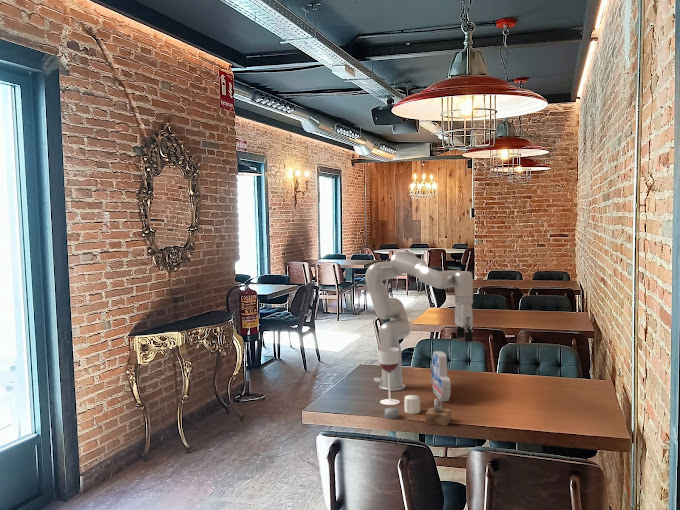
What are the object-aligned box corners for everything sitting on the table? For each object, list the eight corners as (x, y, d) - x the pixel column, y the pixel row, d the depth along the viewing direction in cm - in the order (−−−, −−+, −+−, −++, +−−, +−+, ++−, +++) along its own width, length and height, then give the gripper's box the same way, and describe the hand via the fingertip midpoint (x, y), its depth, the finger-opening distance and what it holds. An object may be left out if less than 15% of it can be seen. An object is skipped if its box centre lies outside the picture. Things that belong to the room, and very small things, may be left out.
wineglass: (402, 399, 253) (401, 347, 252) (397, 405, 244) (396, 352, 243) (382, 397, 256) (381, 346, 255) (376, 404, 247) (375, 351, 246)
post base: (425, 423, 220) (425, 401, 220) (430, 417, 228) (430, 396, 227) (446, 425, 217) (446, 403, 217) (451, 419, 224) (450, 397, 224)
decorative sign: (451, 404, 244) (450, 357, 244) (443, 404, 244) (442, 357, 243) (438, 388, 269) (437, 346, 268) (431, 389, 268) (430, 346, 268)
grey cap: (384, 419, 227) (384, 411, 227) (384, 414, 233) (384, 407, 233) (399, 419, 227) (399, 411, 227) (398, 414, 232) (398, 407, 232)
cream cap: (403, 412, 234) (402, 398, 234) (407, 408, 240) (407, 394, 239) (417, 414, 232) (417, 399, 232) (421, 409, 237) (421, 395, 237)
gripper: (448, 298, 255) (449, 336, 256) (462, 302, 238) (463, 343, 239) (465, 297, 256) (465, 335, 257) (479, 302, 239) (480, 342, 240)
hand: (464, 339), depth 248 cm, fingers open, 9 cm apart
